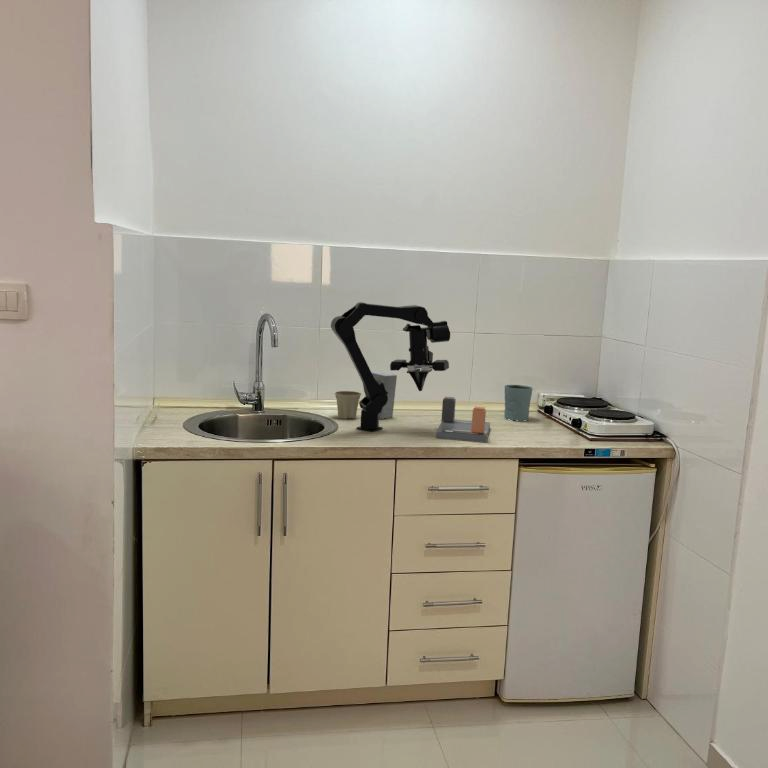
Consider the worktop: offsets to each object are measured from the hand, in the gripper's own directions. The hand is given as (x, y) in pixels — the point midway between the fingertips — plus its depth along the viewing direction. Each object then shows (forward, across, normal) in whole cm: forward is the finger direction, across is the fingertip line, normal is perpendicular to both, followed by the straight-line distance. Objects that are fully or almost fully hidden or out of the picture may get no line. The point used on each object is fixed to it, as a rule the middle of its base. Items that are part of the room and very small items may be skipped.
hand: (420, 390), depth 253 cm
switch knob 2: (+12, -20, +4) cm, 24 cm away
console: (+14, -14, -2) cm, 20 cm away
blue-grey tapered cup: (+18, -24, -35) cm, 46 cm away
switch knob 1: (+11, -7, -8) cm, 15 cm away
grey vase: (+12, +19, -10) cm, 25 cm away
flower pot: (+11, +29, -3) cm, 31 cm away
